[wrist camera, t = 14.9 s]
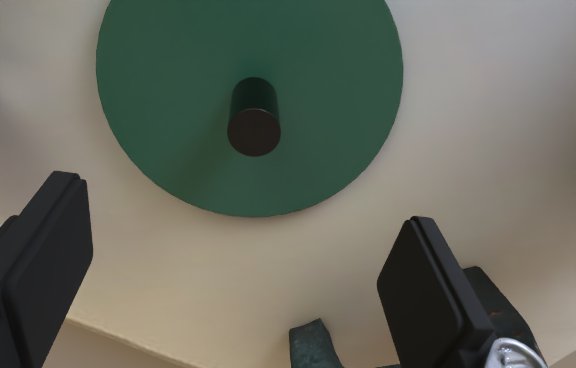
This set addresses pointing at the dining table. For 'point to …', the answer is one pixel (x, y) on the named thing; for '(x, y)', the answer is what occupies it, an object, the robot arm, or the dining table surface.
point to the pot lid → (250, 96)
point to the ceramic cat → (325, 364)
